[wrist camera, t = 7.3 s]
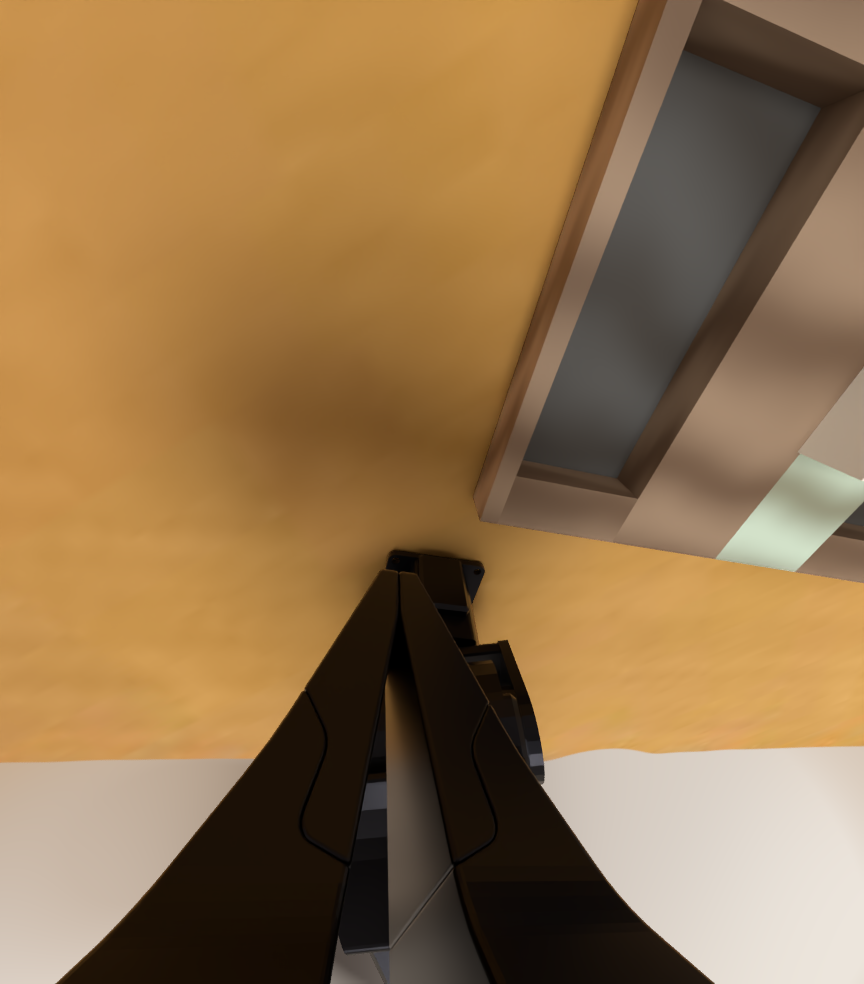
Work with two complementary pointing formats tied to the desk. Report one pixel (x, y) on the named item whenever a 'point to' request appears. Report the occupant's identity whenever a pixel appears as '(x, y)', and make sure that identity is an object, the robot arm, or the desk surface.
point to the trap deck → (703, 299)
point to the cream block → (841, 433)
